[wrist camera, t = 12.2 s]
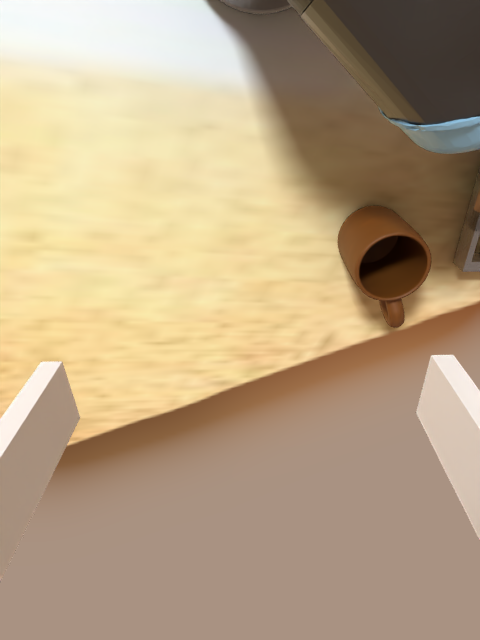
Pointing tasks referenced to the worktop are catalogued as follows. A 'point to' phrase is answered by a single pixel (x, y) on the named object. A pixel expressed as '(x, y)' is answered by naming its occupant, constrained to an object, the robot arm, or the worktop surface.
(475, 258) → the rail
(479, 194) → the tan cardboard box
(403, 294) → the mug
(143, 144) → the worktop surface
